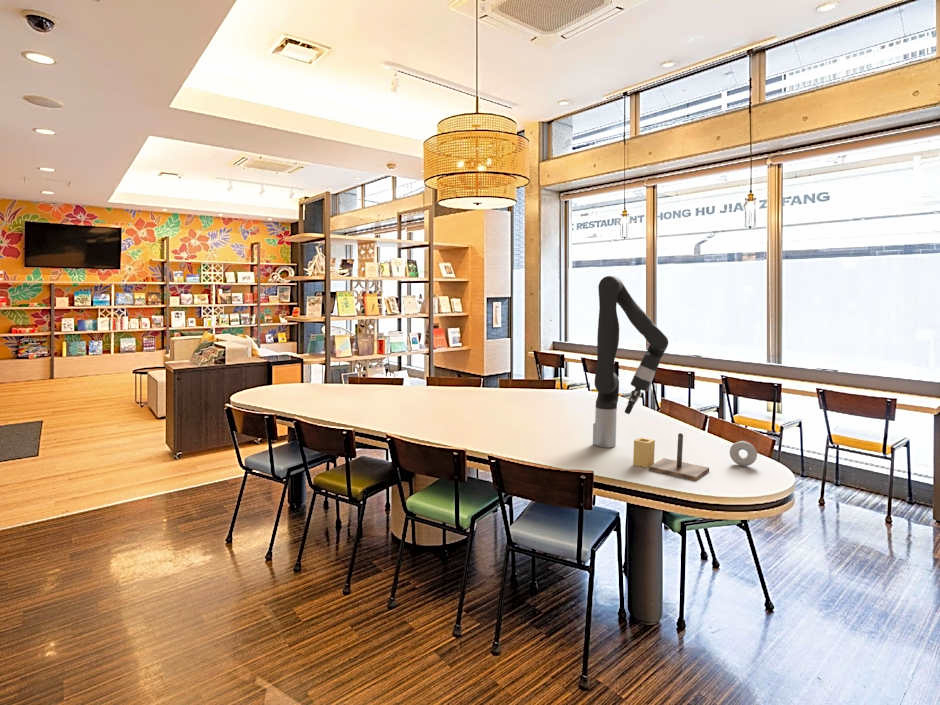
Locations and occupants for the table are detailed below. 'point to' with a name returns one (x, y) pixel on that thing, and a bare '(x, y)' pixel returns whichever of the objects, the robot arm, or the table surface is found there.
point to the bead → (643, 452)
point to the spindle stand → (679, 465)
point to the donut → (747, 447)
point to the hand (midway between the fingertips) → (627, 412)
